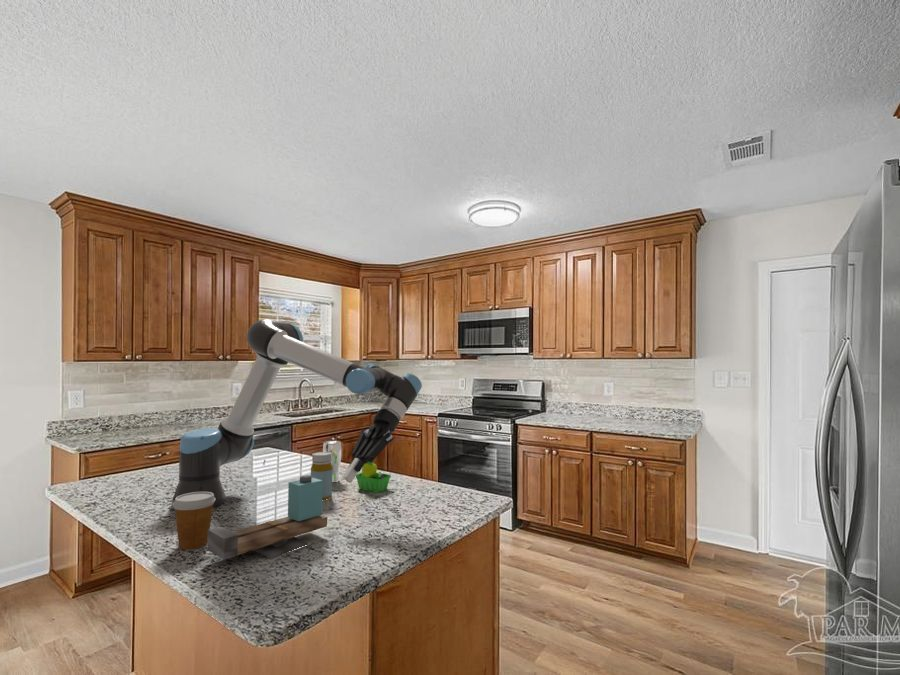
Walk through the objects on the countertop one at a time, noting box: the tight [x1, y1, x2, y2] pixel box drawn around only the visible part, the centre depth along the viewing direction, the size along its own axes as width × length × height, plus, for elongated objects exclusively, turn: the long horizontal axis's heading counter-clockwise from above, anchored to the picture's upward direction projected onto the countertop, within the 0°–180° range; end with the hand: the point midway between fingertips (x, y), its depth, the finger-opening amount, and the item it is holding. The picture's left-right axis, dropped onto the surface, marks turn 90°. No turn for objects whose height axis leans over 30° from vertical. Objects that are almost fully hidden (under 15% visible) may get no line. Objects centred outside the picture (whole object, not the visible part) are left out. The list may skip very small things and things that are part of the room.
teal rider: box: [287, 474, 323, 521], centre depth 123 cm, size 7×5×12 cm
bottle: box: [310, 451, 333, 501], centre depth 158 cm, size 7×7×15 cm
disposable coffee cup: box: [173, 492, 216, 550], centre depth 118 cm, size 10×10×12 cm
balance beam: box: [206, 514, 328, 561], centre depth 116 cm, size 27×12×7 cm, turn 140°
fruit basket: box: [355, 461, 392, 493], centre depth 169 cm, size 11×9×11 cm
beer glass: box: [322, 440, 342, 483], centre depth 180 cm, size 7×7×15 cm
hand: (346, 479), depth 133 cm, fingers closed
